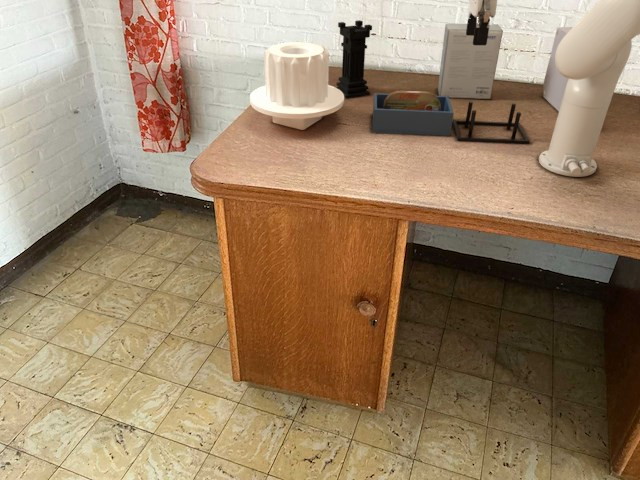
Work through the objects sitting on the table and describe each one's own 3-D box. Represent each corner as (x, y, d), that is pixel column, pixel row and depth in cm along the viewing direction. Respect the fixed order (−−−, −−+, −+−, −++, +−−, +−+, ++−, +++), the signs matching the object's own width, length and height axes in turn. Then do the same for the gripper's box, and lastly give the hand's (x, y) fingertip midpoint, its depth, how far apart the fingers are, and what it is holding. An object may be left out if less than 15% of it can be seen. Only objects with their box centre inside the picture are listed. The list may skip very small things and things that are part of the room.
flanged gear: (359, 114, 152) (362, 45, 141) (312, 147, 134) (313, 70, 123) (284, 97, 162) (282, 32, 151) (232, 126, 144) (226, 53, 133)
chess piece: (334, 90, 168) (336, 22, 157) (357, 86, 171) (360, 19, 160) (346, 98, 162) (349, 28, 151) (369, 94, 165) (374, 26, 154)
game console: (577, 130, 144) (599, 54, 133) (539, 95, 166) (556, 27, 155) (598, 130, 144) (623, 54, 133) (558, 94, 167) (576, 27, 155)
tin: (381, 123, 145) (384, 92, 140) (381, 118, 147) (384, 88, 143) (438, 125, 144) (443, 94, 139) (437, 121, 146) (442, 90, 142)
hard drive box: (487, 91, 169) (499, 24, 157) (490, 99, 162) (504, 30, 151) (436, 89, 170) (445, 22, 158) (438, 97, 164) (448, 28, 152)
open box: (450, 136, 140) (453, 112, 137) (372, 132, 142) (373, 109, 138) (445, 118, 150) (448, 96, 147) (372, 115, 151) (374, 93, 148)
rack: (529, 144, 137) (535, 117, 133) (457, 140, 138) (462, 114, 134) (519, 125, 146) (524, 100, 142) (452, 122, 148) (456, 97, 144)
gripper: (512, -32, 117) (498, 49, 126) (495, -42, 131) (484, 32, 141) (477, -33, 117) (466, 49, 127) (464, -42, 132) (455, 31, 141)
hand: (475, 40), depth 134 cm, fingers open, 9 cm apart
